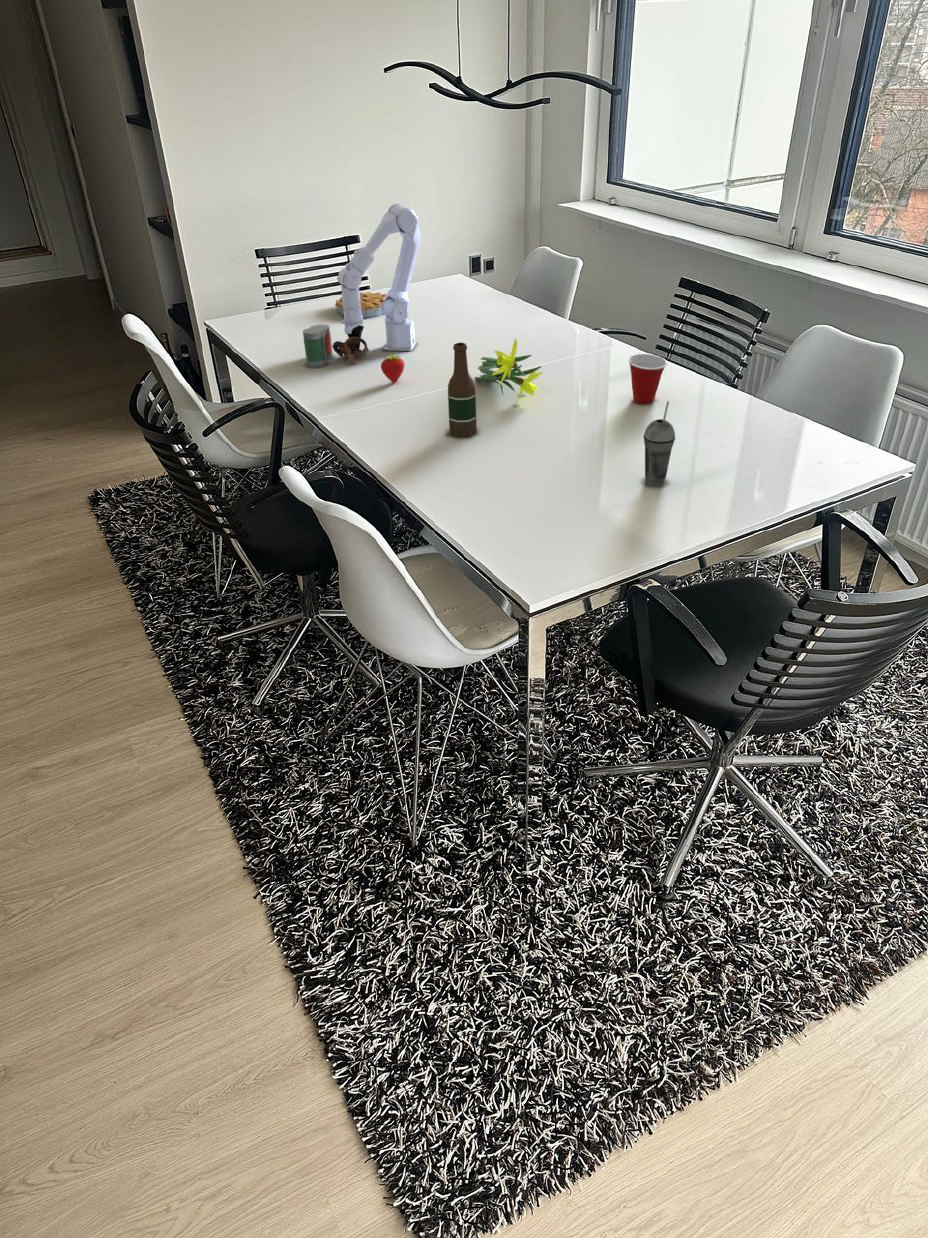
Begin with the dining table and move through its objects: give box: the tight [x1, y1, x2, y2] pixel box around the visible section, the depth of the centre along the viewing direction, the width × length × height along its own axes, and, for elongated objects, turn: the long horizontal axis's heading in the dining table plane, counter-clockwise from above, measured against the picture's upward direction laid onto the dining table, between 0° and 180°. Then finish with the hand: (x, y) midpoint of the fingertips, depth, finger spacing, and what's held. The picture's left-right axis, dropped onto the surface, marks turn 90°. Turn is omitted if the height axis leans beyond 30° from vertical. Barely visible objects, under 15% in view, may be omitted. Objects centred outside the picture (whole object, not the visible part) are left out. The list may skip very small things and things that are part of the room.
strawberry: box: [380, 350, 405, 384], centre depth 271 cm, size 6×8×10 cm
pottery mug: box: [332, 337, 370, 365], centre depth 292 cm, size 12×10×8 cm
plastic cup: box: [628, 353, 668, 405], centre depth 252 cm, size 11×11×12 cm
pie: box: [334, 292, 387, 319], centre depth 339 cm, size 22×22×5 cm
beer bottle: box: [447, 342, 477, 439], centre depth 234 cm, size 8×8×24 cm
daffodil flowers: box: [474, 337, 544, 406], centre depth 259 cm, size 17×15×35 cm
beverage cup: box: [642, 400, 676, 487], centre depth 207 cm, size 7×7×20 cm
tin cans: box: [302, 324, 334, 369], centre depth 290 cm, size 6×13×11 cm, turn 170°
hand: (356, 348), depth 297 cm, fingers closed
